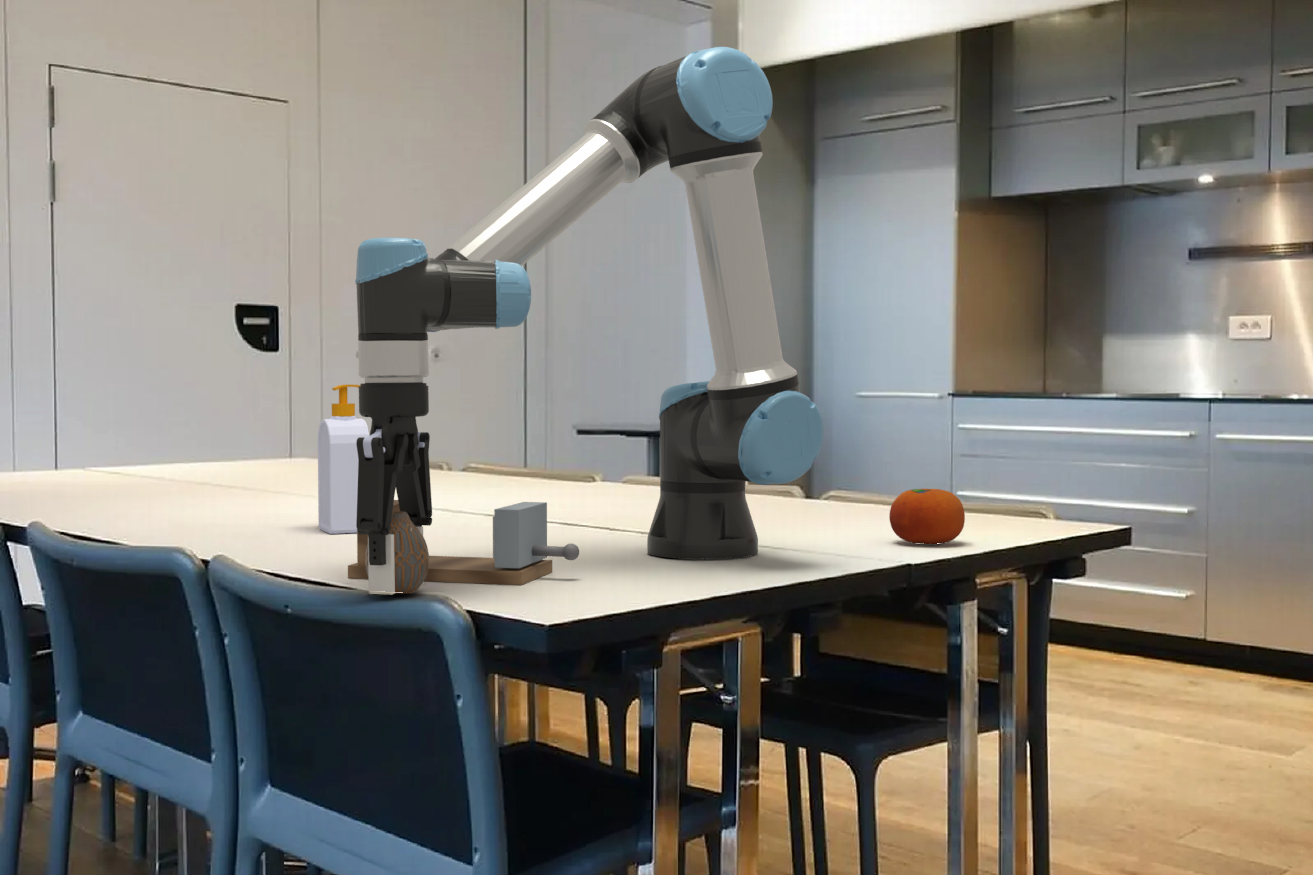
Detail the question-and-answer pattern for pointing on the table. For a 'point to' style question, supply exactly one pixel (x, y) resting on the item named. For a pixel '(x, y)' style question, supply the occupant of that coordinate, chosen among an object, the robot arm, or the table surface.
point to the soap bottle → (339, 466)
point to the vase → (407, 554)
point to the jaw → (524, 536)
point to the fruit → (927, 516)
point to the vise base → (460, 567)
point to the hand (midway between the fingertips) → (397, 588)
